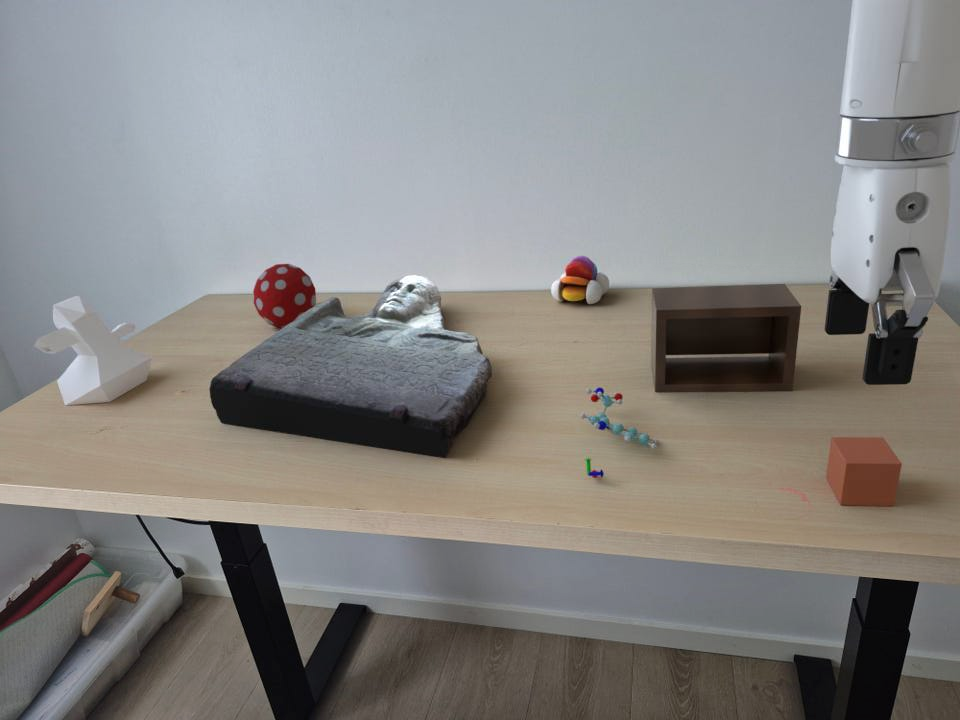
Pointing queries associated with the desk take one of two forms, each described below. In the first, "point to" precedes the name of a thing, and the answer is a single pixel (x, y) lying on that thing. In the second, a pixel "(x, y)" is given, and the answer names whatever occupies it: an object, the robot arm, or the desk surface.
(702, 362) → the shelf
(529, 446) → the desk surface
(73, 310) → the white animal head
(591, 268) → the rainbow toy buggy
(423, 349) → the bust sculpture
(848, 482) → the box
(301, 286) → the red polka dot ball
